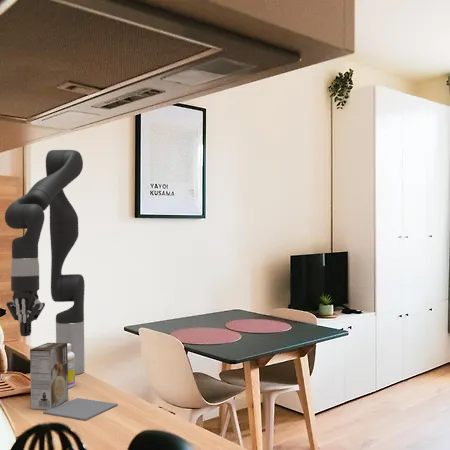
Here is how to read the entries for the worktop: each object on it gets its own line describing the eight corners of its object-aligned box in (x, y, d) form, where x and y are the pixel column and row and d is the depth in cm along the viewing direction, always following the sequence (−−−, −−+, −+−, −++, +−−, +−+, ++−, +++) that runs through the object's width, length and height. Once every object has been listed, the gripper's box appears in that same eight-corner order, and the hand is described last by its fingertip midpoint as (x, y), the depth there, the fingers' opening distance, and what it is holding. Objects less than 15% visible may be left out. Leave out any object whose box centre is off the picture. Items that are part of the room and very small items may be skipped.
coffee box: (48, 398, 150) (47, 342, 150) (68, 399, 148) (68, 342, 149) (29, 409, 141) (29, 348, 141) (51, 410, 139) (51, 349, 140)
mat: (43, 413, 137) (43, 411, 137) (77, 399, 148) (77, 397, 149) (85, 420, 131) (85, 419, 131) (117, 405, 142) (117, 403, 142)
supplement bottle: (48, 386, 162) (48, 344, 162) (68, 382, 167) (68, 341, 167) (58, 391, 157) (58, 347, 157) (78, 386, 162) (78, 344, 162)
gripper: (52, 273, 150) (53, 335, 149) (18, 273, 156) (18, 332, 155) (32, 275, 143) (32, 339, 142) (-3, 274, 149) (-2, 336, 148)
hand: (25, 335), depth 149 cm, fingers closed
